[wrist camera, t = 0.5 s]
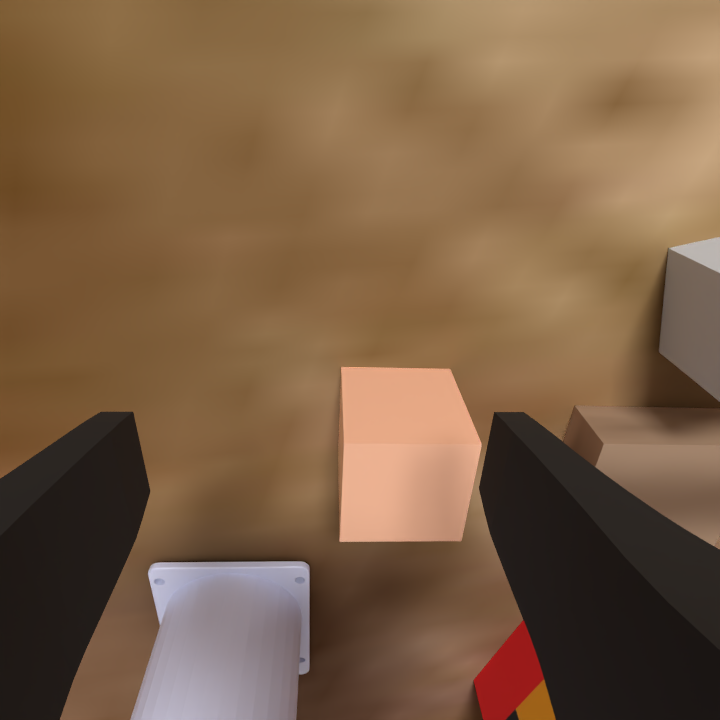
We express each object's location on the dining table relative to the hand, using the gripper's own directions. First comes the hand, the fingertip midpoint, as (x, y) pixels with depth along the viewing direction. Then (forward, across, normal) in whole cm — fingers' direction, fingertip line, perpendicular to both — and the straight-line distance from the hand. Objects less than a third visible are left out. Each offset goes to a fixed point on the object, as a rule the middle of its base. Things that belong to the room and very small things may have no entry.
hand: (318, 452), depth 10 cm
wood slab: (+10, -14, +9) cm, 20 cm away
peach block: (+10, -3, +6) cm, 12 cm away
